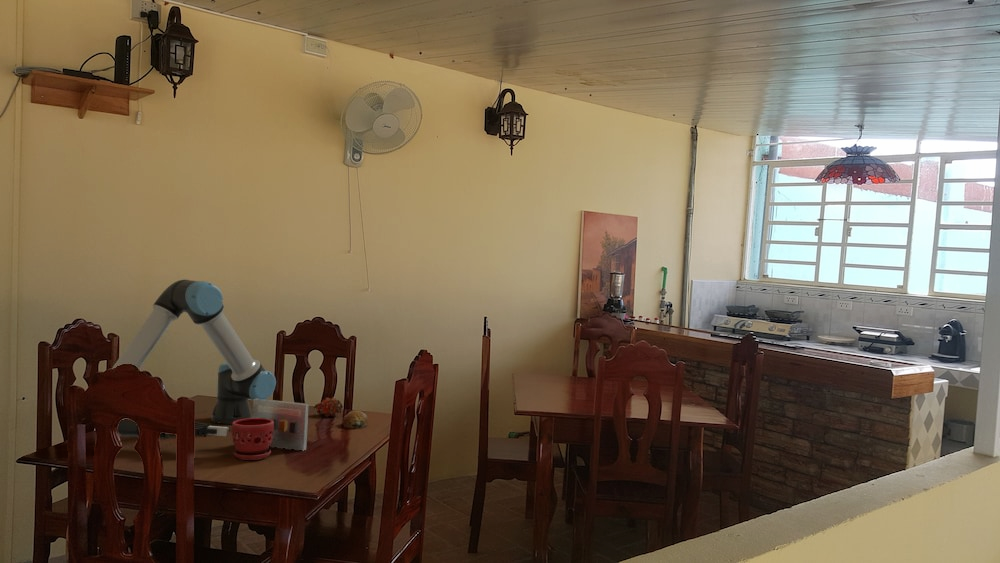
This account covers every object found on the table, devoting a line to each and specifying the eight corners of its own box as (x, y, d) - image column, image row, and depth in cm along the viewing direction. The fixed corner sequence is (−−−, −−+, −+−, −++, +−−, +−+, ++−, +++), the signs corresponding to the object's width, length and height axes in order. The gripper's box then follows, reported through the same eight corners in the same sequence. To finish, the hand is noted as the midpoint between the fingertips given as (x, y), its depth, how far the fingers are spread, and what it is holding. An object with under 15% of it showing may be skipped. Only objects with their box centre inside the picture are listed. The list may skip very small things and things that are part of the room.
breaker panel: (249, 445, 251) (251, 400, 250) (254, 443, 254) (256, 398, 253) (301, 451, 247) (304, 405, 246) (306, 449, 250) (308, 404, 249)
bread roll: (368, 434, 291) (372, 414, 294) (363, 428, 282) (366, 408, 285) (345, 432, 292) (348, 412, 295) (338, 426, 283) (342, 406, 286)
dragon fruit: (344, 420, 303) (315, 423, 302) (345, 405, 309) (317, 408, 309) (340, 407, 297) (311, 410, 297) (342, 392, 304) (313, 394, 303)
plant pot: (279, 453, 243) (281, 418, 243) (260, 464, 230) (261, 427, 230) (243, 449, 245) (245, 415, 245) (222, 460, 232) (224, 423, 232)
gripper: (166, 433, 245) (234, 438, 244) (146, 442, 232) (218, 447, 231) (168, 411, 244) (236, 416, 244) (148, 419, 231) (220, 424, 231)
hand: (227, 431), depth 237 cm, fingers closed
